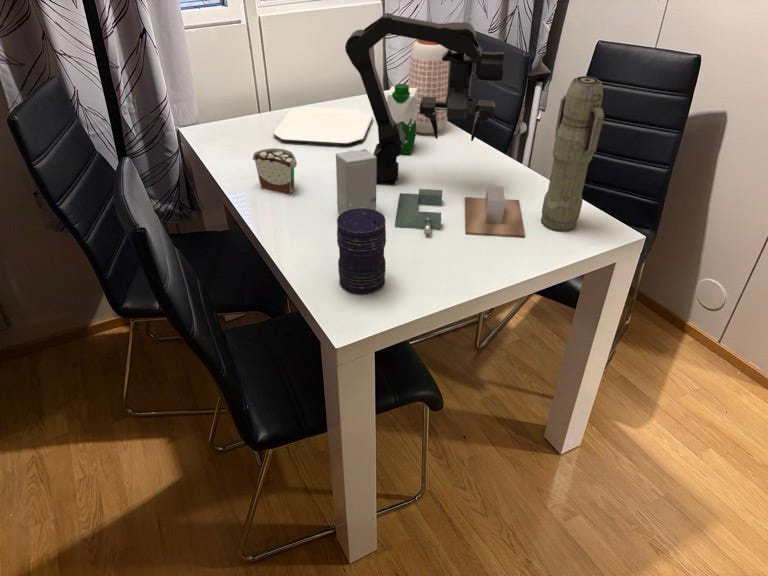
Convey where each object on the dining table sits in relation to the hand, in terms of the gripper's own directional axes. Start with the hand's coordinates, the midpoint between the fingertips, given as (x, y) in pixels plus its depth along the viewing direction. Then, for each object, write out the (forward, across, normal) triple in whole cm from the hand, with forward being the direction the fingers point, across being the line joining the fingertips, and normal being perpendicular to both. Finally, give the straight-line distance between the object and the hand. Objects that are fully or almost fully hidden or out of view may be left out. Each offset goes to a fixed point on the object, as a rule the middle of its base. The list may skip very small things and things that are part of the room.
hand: (454, 139), depth 160 cm
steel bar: (+12, +11, -17) cm, 24 cm away
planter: (+13, -9, +38) cm, 42 cm away
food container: (+14, -45, -8) cm, 48 cm away
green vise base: (+13, -7, -20) cm, 25 cm away
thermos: (+13, +27, -18) cm, 35 cm away
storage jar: (+13, -17, -49) cm, 53 cm away
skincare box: (+13, -23, -20) cm, 33 cm away
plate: (+14, -42, +35) cm, 56 cm away
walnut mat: (+13, +11, -17) cm, 24 cm away
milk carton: (+13, -16, +21) cm, 29 cm away
